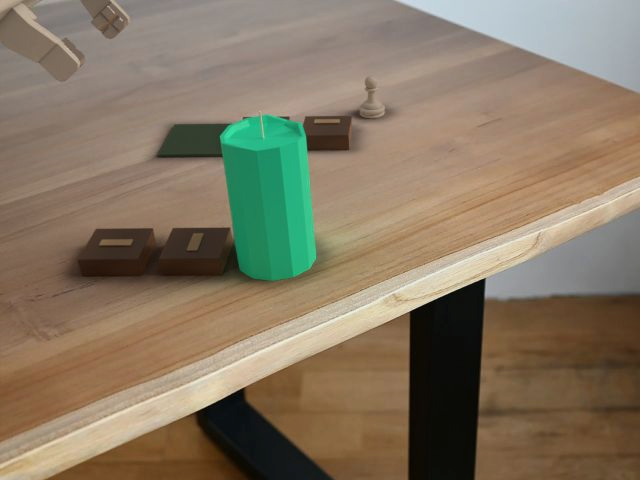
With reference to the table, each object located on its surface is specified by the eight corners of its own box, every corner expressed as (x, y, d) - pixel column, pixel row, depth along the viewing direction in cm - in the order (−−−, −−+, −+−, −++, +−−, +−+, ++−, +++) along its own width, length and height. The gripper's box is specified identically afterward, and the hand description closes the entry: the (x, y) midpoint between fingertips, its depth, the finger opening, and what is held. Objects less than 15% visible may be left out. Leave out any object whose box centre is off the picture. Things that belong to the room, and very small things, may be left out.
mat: (158, 157, 84) (157, 154, 84) (174, 126, 90) (174, 124, 90) (231, 156, 84) (230, 153, 84) (243, 126, 90) (243, 123, 89)
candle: (285, 289, 65) (268, 136, 59) (220, 267, 68) (197, 119, 61) (331, 249, 70) (320, 103, 63) (268, 231, 72) (252, 88, 66)
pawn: (382, 107, 93) (381, 69, 90) (387, 117, 90) (386, 79, 88) (357, 110, 92) (355, 72, 90) (361, 120, 90) (359, 82, 88)
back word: (237, 151, 85) (235, 135, 84) (244, 130, 89) (243, 115, 88) (349, 150, 84) (348, 134, 84) (352, 129, 88) (351, 114, 87)
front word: (81, 276, 67) (76, 258, 67) (99, 244, 71) (95, 227, 70) (222, 275, 67) (219, 257, 66) (232, 243, 71) (230, 226, 70)
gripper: (-33, -113, 64) (116, 38, 69) (-212, -63, 46) (6, 136, 51) (23, -177, 62) (172, -17, 67) (-141, -151, 44) (79, 65, 49)
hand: (100, 50), depth 59 cm, fingers open, 8 cm apart
